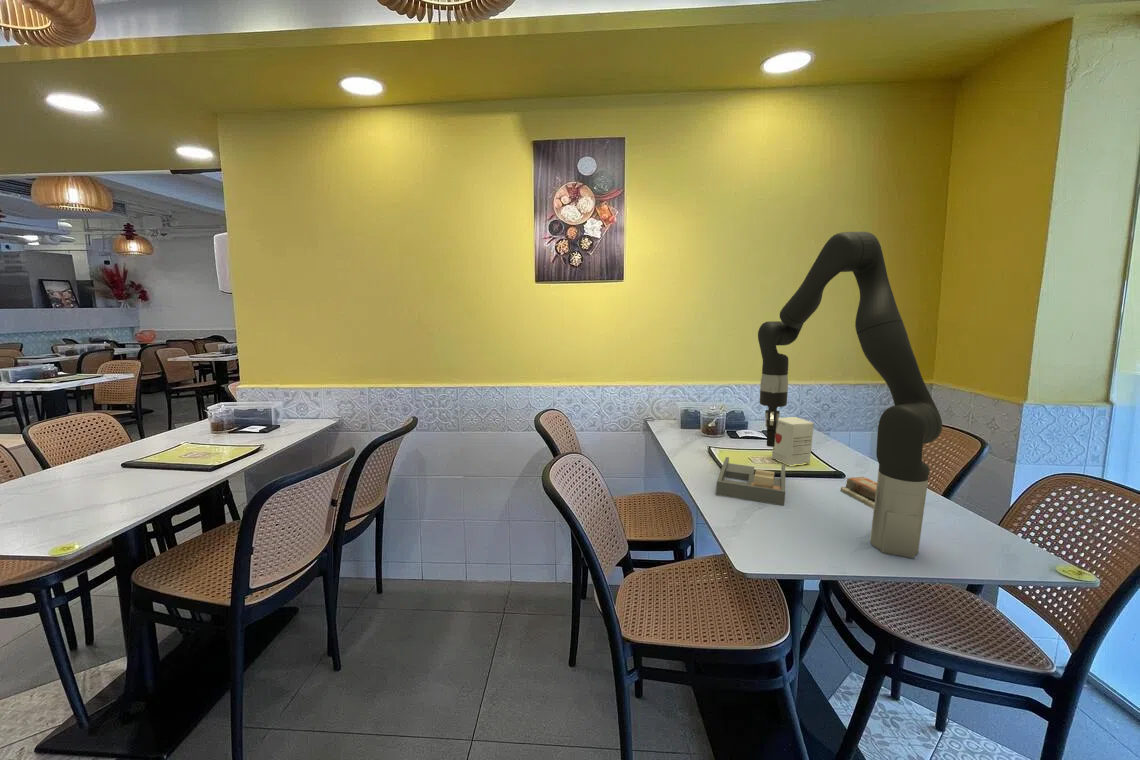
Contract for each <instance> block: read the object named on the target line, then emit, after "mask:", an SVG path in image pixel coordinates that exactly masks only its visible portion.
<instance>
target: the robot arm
mask: <svg viewBox="0 0 1140 760" xmlns="http://www.w3.org/2000/svg"><path fill="white" fill-rule="evenodd" d="M886 267H887V266H886V264H885V259H884V254H883V250H882V246H881V244H880V240H878V238H877V237H876V235H875V234H873V233H872V232H868V231H842V232H839V233H838V232H837V233H836V234H834V235H832V236H831V237H830V238H829V239H828V240H827V242H826V243H825V244H824V246H823V247H822V248H821V250H820V252H819V254H818V255H817V257H816V258H815V261H814V262H813V264H812V266H811V267H810V269H809V271H808V273H807V274H806V277H805V278H804V280H803V281H802V283H801V284H800V286H799V288H798V289H797V290H796V291H795V293H794V294H793V295H792V296H791V297H790V299H789V300H788V301H787V302H786V303H785V305H783V306H782V308H781V310H780V311H779V319H780V320H779V321H777V320H776V321H774V320H772V321H765V322H763V323H761V324H760V326H759V329H758V331H757V338H758V339H757V341H758V344H759V349H760V350H759V351H760V354H761V358H762V366H761V367H762V369H761V370H762V371H761V378H760V386H759V387H760V390H759V404H760V406H765V407H767V408H768V409H765V413H764V417H765V424H764V426H765V427H766V431H765V432H766V446H767V447H768V448H769V447H770V448H773V447H774V446H775V435H776V429H777V427H778V419H779V418H780V410H778V408H784V407H786V406H787V404H788V394H789V393H788V389H789V357H788V355H786V354H783V353H779V351H778V349H777V346H788V345H791V344H792V343H794V342H795V341H796V340H797V338H798V337H799V335H800V332H801V331H802V328H803V326H804V324H805V322H806V321H808V319H809V318H810V317H811V316H813V314H814V313H815V312H816V311H817V309H818V308H819V306H820V305H821V302H822V298H823V293H824V290H825V288H826V286H827V285H828V284H829V282H831V280H833V279H834V278H835V277H836V276H837V275H839V274H840V273H848V272H852V273H853V275H854V277H855V280H856V283H857V286H858V291H859V303H858V307H857V311H856V315H855V323H854V324H855V325H854V327H855V331H856V334H857V339H858V341H859V344H860V347H861V349H862V352H863V354H864V356H865V358H866V360H867V361H868V362H869V364H870V365H871V366H872V367H873V369H874V370H875V371H876V372H877V373H878V374H879V376H880V377H881V378H882V380H883V381H884V382H885V383H886V385H887V387H888V389H889V391H890V394H891V397H892V400H893V404H894V405H892V406H890V407H888V408H886V409H885V410H884V411H883V412H882V414H881V415H880V417H879V420H878V426H877V427H878V428H877V436H876V437H877V439H876V459H877V460H876V461H877V462H878V471H877V480H876V483H877V487H876V495H875V503H874V509H873V513H872V520H871V521H872V522H871V530H870V543H871V544H872V546H874V547H875V548H876V549H878V550H880V552H881V553H883V554H890V555H895V556H899V557H906V558H911V559H915V556H916V555H918V553H919V549H920V541H921V534H922V526H923V521H924V514H925V513H924V511H925V505H926V498H927V497H926V496H927V491H928V484H929V477H930V467H929V465H928V464H926V463H925V462H923V448H924V447H923V445H925V444H929V443H931V442H933V441H936V439H938V438H939V436H940V435H941V433H942V430H943V421H942V417H941V413H940V412H939V410H938V408H937V406H936V403H935V401H934V399H933V397H932V395H931V393H930V392H929V389H928V388H927V385H926V383H925V381H924V378H923V376H922V373H921V371H920V366H919V365H918V361H917V359H916V356H915V354H914V351H913V349H912V346H911V345H912V344H911V341H910V339H909V335H908V332H907V330H906V326H905V323H904V321H903V319H902V316H901V313H900V311H899V308H898V305H897V302H896V299H895V296H894V293H893V290H892V287H891V283H890V280H889V276H888V272H887V268H886Z"/></svg>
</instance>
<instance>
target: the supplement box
mask: <svg viewBox="0 0 1140 760" xmlns="http://www.w3.org/2000/svg"><path fill="white" fill-rule="evenodd" d="M814 425H815V423H814V422H812V421H809V420H806V419H803V418H799V417H796V416H791V417H779V419H778V427H777V429H776V435H775V446H774V447H772V451H771V452H772V454H771V459H772V458H774V459H777V460H779V461H782V462H784V463H786V464H789V465H794V464H803V463H810V464H811V456H812V455H811V454H812V445H813V436H814Z"/></svg>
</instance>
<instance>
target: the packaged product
mask: <svg viewBox="0 0 1140 760" xmlns="http://www.w3.org/2000/svg"><path fill="white" fill-rule="evenodd" d="M876 487H877V481H874V480H872V479H870V478H868V477H864V476H857V477H848V478H846V483H845V486H841V487H840V492H842V493H843V494H845V495H848V496H849V497H850V498H851V497H852V499H854V500H857V501H858V502H860V503H862V504H863V503H864V505H865V506H867V507H869V508H871V509H873V510H874V503H875V495H876Z"/></svg>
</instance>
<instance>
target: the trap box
mask: <svg viewBox="0 0 1140 760" xmlns="http://www.w3.org/2000/svg"><path fill="white" fill-rule="evenodd" d="M729 462H730V457H729V456H727V457H725V458H724V461H723V464H722V467H721V469H720V472H719V475H718V477H717V479H716V487H715V488H716V489H715V495H717V496H721V497H728V498H735V499H739V500H740V499H741V500H747V501H752V502H753V501H754V502H761V503H765V504H773V505H778V506H785V502H786V501H785V500H786V465H784V464H782V463H781V467H780V468H781V469H780V478H779V477H774V485H773V489H772V488H766V487H759V486H754V475H755V466H751V465H746V464H745V465H743V464H736V463H729ZM726 478H728V479H726ZM729 478H730V479H736V480H737V479H739V480H744V481H747V482H744V481H738V480H737V481H736V480H730V479H729Z"/></svg>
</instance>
